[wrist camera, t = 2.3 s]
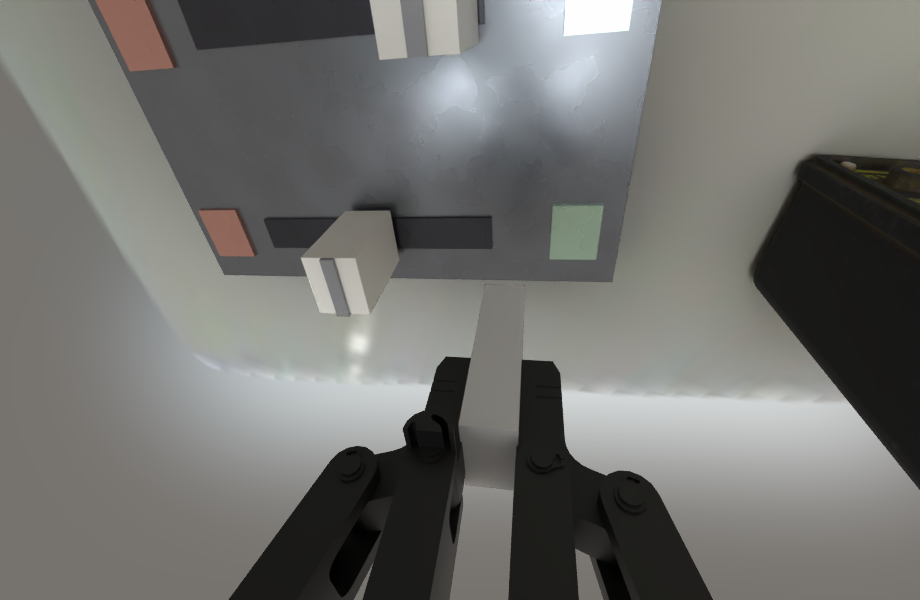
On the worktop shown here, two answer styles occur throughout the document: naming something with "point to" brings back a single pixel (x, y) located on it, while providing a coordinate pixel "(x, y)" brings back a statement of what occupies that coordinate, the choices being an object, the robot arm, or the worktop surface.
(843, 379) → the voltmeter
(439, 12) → the block
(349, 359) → the worktop surface
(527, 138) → the breaker panel
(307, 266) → the block
